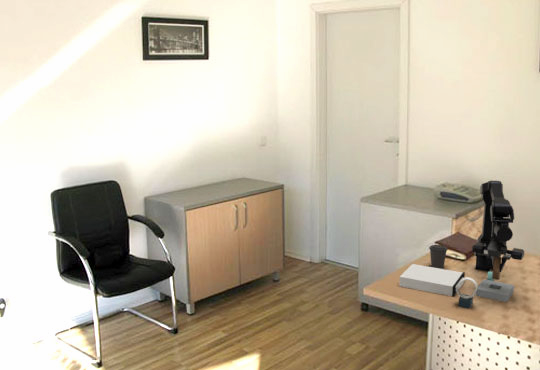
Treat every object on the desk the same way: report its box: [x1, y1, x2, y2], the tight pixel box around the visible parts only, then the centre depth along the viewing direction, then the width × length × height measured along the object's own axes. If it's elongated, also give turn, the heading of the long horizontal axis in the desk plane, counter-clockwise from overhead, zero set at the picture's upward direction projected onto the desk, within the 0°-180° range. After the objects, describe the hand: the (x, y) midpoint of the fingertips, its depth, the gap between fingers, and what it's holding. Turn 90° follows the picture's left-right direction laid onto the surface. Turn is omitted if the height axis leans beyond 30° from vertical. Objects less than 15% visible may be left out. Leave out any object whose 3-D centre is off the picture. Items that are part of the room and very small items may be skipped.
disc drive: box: [398, 263, 466, 298], centre depth 255 cm, size 18×22×5 cm
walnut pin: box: [492, 256, 502, 281], centre depth 243 cm, size 3×3×9 cm
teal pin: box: [486, 270, 495, 281], centre depth 255 cm, size 3×3×5 cm
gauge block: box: [475, 278, 515, 303], centre depth 245 cm, size 12×12×3 cm
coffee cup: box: [428, 244, 448, 269], centre depth 274 cm, size 8×8×10 cm
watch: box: [455, 276, 479, 310], centre depth 234 cm, size 6×8×11 cm
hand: (496, 271), depth 243 cm, fingers closed on walnut pin, 3 cm apart
